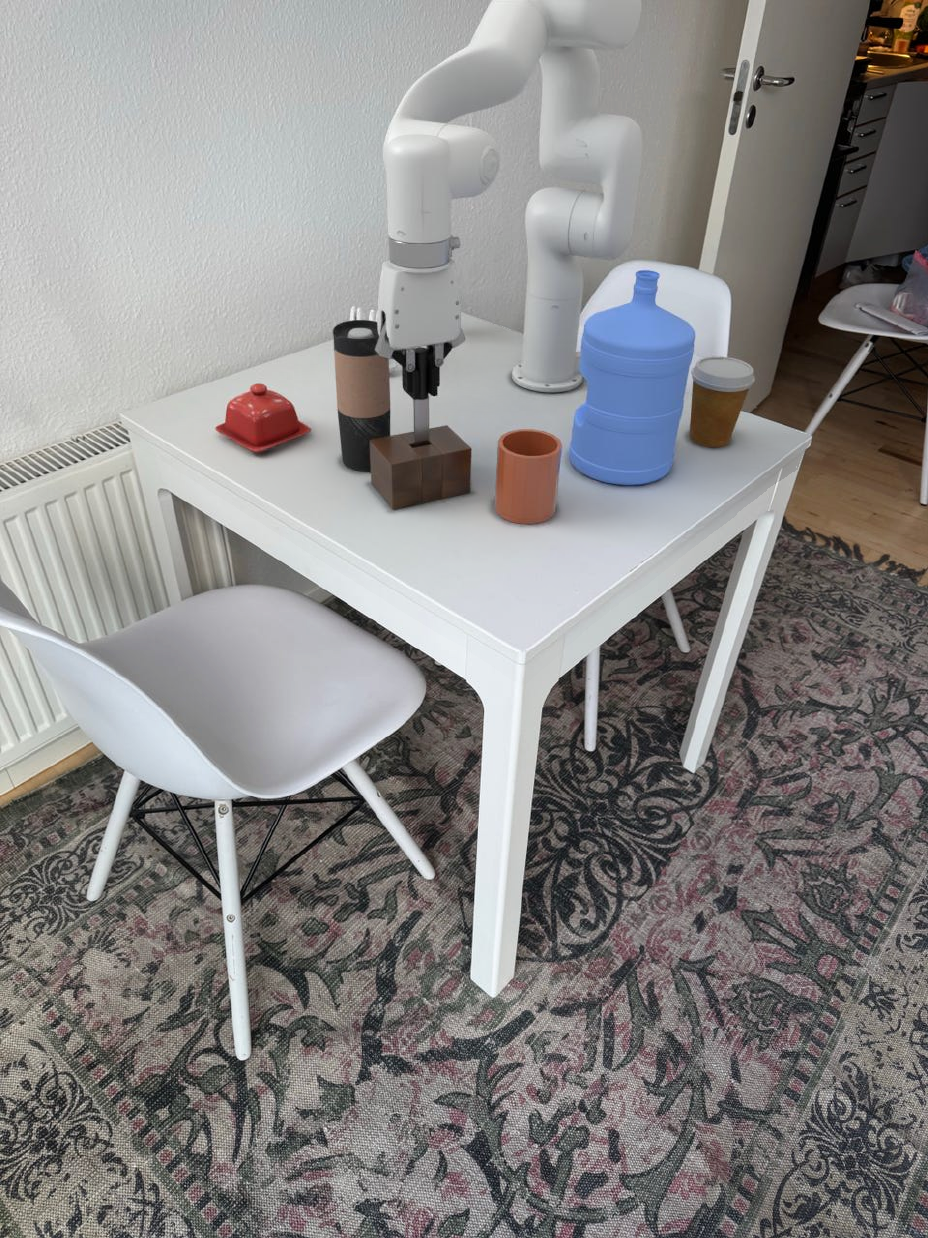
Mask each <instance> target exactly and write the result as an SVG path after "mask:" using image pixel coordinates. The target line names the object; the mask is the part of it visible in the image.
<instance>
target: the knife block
mask: <svg viewBox="0 0 928 1238" xmlns="http://www.w3.org/2000/svg"><path fill="white" fill-rule="evenodd" d="M370 463H371V471H370V484H371V486H372V487H373V488H374V489H375V490H376V492H377V494H379V496H381V498H382V499H383V500H384V502H386V504H387V505H388V506H389V508H390V509H391V510H392V511H395V510H400V509H404V508H408V507H412V506H417V505H422V504H426V503H430V502H434V501H435V502H436V501H440V500H444V499H447V498H452V497H456V496H457V497H458V496H460V495H461V496H462V495H465V494H470V493H471V482H472V481H471V478H472V447H471V446H470V445H469V444H468V443H467V442H465V441H464V440H463V438H462V437H460V435H458V434H457V433H456V432H455V431H454V430H453V429H452V428H451V427H450V426H449V425H448V424H447V425H445V424H444V425H441V426H435V427H429V445H425V446H420V447H415V448H414V430H413V431H409V432H404V433H398V434H393V435H390V436H387V437H382V438H377V439H372V440H370Z"/></svg>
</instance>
